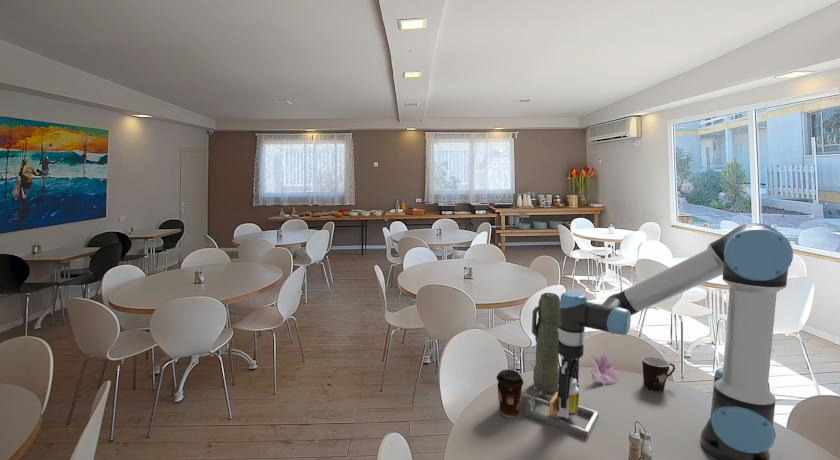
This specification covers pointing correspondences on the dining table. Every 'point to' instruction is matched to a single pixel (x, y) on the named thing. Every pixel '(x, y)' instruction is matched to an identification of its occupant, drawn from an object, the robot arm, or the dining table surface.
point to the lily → (603, 369)
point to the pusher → (552, 403)
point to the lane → (557, 422)
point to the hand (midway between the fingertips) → (567, 411)
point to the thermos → (546, 343)
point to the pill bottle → (572, 398)
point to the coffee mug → (655, 372)
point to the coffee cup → (509, 392)
